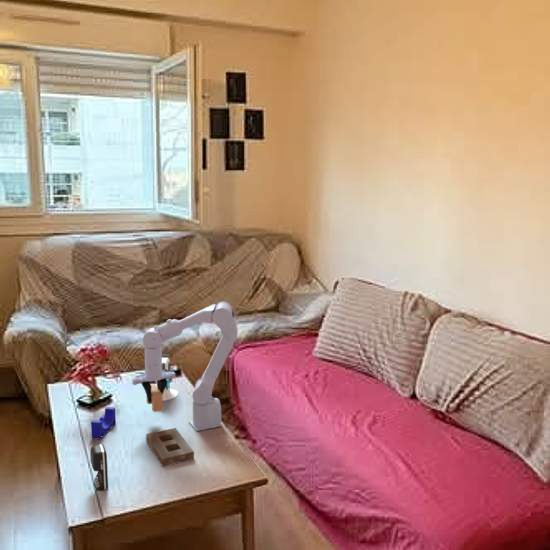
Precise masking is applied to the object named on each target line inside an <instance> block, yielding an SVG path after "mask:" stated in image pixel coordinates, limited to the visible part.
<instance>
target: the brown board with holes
mask: <svg viewBox="0 0 550 550" xmlns="http://www.w3.org/2000/svg"><path fill="white" fill-rule="evenodd" d="M145 437H146V442H148V443H147V444H148V445H150V446H149V447H150V449H151V448H152V449H151V451H152V453H153V454H154V453H155V454H154V456H155V457H156V456H157V457H156V458H157V460H158V461H160V462H159V464H160V465H161V464H162V465H161V466H162V467H167V466H171V465H175V464H174V463H176V464H179V462H180V463H183V462H188V461H187V460H189V461H192V460H191V459H193V460H195V451H194V450H193V448H192V447H191V446H190V445H189V443H188V442H187V441H186V440H185V438H184V437H183V436H182V435H181V433H180V432H179V430H178V429H177V428H176V427H173V428H170V429H163V430H159V431H158V430H157V431H153V432H149V433H146V435H145ZM170 464H171V465H170ZM166 465H167V466H166Z"/></svg>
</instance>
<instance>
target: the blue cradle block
mask: <svg viewBox="0 0 550 550" xmlns="http://www.w3.org/2000/svg"><path fill="white" fill-rule="evenodd" d="M116 424H117V421H116V407H115V406H114V407H111V406H107V407H105V408H104V414H102V415H101V416H100V417H99V419H98V420H97V419H96V420H95V419H93V420H91V422H90V427H91V439H94V438H98V439H97V440H101V439H102V438H103V437H104V436H105V435H106V434H108V432H109V431H110V430H111V429H112V428H113V427H114V426H115V425H116ZM113 425H114V426H113ZM112 426H113V427H112ZM111 427H112V428H111ZM110 428H111V429H110ZM108 430H109V431H108ZM107 431H108V432H107ZM105 433H106V434H105ZM104 434H105V435H104ZM101 436H103V437H101Z"/></svg>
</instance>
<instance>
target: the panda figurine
mask: <svg viewBox="0 0 550 550" xmlns="http://www.w3.org/2000/svg"><path fill="white" fill-rule="evenodd" d="M170 359H171V355H170V354H166V353H164V354H162V372H171V369H172V368H171V365H172V364H171V361H170ZM171 379H172V378H170V379H166V380H167V385H166V387H165V389H164V392H163V395H162V402H165V401H170V400H174V399H175V398H177V397H178V396H179V391H178V390H176V389H173V388H170V387H171V386H170V384H171ZM155 385H157V381H155ZM156 387H157V386H156ZM157 388H158V387H157Z"/></svg>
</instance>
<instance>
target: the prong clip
mask: <svg viewBox="0 0 550 550" xmlns="http://www.w3.org/2000/svg"><path fill="white" fill-rule="evenodd" d="M150 385H151V386H152V387H151V403H149V402H148V399H147V398H146V404H148V405H151V410H152V412H153V413H157V412H162V411H163V401H162V393H161V392H160V390H159V389H158V388H157V384H150Z"/></svg>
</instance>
